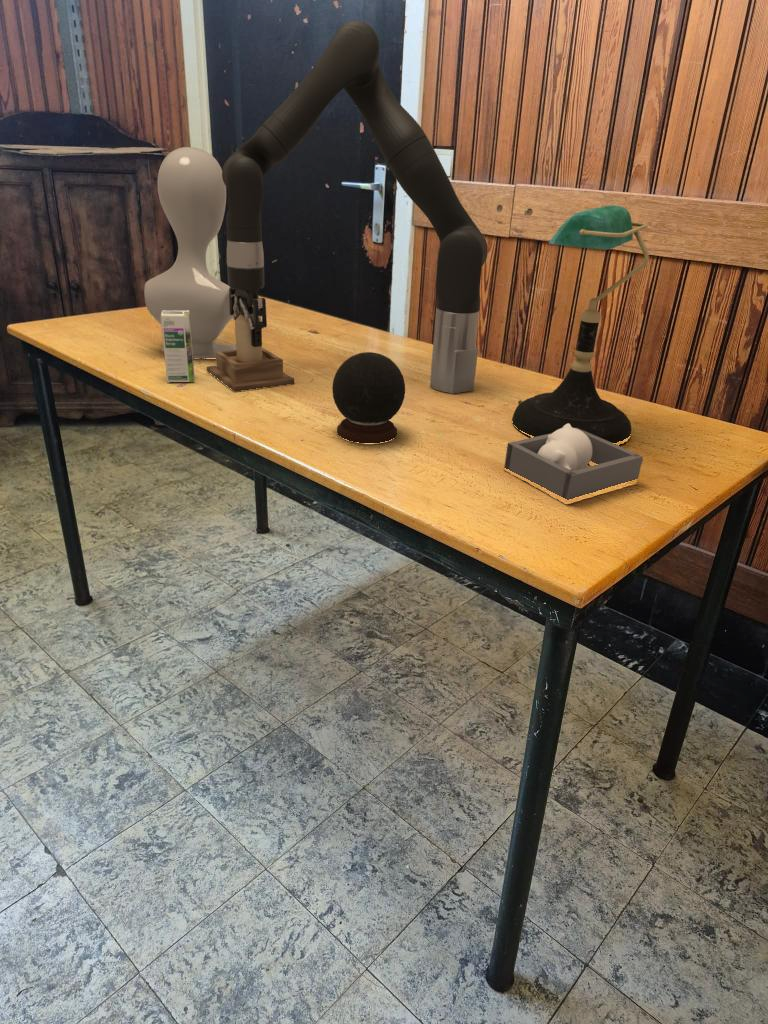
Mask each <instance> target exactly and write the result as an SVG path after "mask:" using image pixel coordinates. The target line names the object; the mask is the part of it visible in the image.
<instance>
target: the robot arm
mask: <svg viewBox="0 0 768 1024" xmlns="http://www.w3.org/2000/svg"><path fill="white" fill-rule="evenodd" d="M379 59H380V41H379V38H378V35H377V33H376V31H375V30H374V28H373V27H372V25H370V24H369V23H367V22H365V21H362V20H351V21H347V22H345V23H344V24H342V25H341V26H340V27H339V28H337V30H336V32H335V34H334V35H333V37H332V39H331V40H330V42H329V43H328V45H327V46H326V48H325V50H324V51H323V53H322V55H320V57H319V59H318V60H317V61H316V62H315V64H314V65H313V67H312V68H311V70H310V71H309V72H308V73H307V74H306V76H305V77H304V78H303V79H302V80H301V81H300V83H299V85H298V86H296V88H295V89H294V90H293V91H292V92H291V93H290V94H289V95H288V97H286V98H285V100H284V101H283V102H282V103H281V104H280V105H278V107H277V108H276V110H275V111H274V112H272V114H271V115H270V116H268V118H267V119H266V120H265V121H264V123H262V124H261V126H260V127H259V128H258V130H256V132H255V133H254V134H253V135H252V137H250V138H249V139H248V140H247V141H245V143H243V144H242V145H241V146H240V147H239V148H238V149H237V150H236V151H235V152H234V153H233V154H231V155H230V156H229V157H228V159H226V161H225V162H224V165H223V166H222V168H221V169H222V178H223V182H224V184H225V186H226V189H227V200H228V204H227V205H228V210H227V214H226V219H225V220H226V267H227V285H228V286H229V287H230V288H229V305H230V315H233V318H232V320H233V321H235V320H236V319H237V318H238V317H239V315H240V314H243V315H245V318H246V319H247V320H248V321H249V324H250V327H251V345H252V346H253V347H260V346H262V347H263V334H262V331H263V330H262V329H265V328H267V327H268V323H267V322H268V321H267V304H266V303H267V302H266V298H265V297H259V292H258V291H259V290H261V289H263V288H264V287H265V257H264V254H265V253H264V248H263V247H264V246H263V231H262V230H263V229H262V228H263V227H262V225H263V224H262V210H263V209H262V207H263V199H264V198H263V196H264V178H263V177H265V175H267V173H268V172H269V171H270V170H271V169H273V167H274V166H276V165H279V164H280V163H282V162H283V161H284V160H285V159H286V158H287V157H288V156H289V155H290V154H291V153H292V152H293V151H294V150H295V149H296V148H297V146H299V144H301V142H302V141H304V139H305V137H306V136H307V135H308V134H309V132H310V131H311V129H312V128H313V127H314V125H316V122H317V121H318V120H319V118H320V116H321V115H322V114H323V112H324V111H325V109H326V108H327V106H329V104H330V103H331V102H332V100H334V98H336V96H337V95H338V94H339V93H340V92H341V91H342V90H344V91H345V92H346V93H347V95H348V96H349V98H350V99H351V101H352V102H353V104H354V105H355V107H356V108H357V109H358V111H359V113H360V114H361V115H362V117H363V119H364V120H365V122H366V124H367V126H368V129H369V130H370V133H371V134H372V136H373V139H374V141H375V143H376V145H377V147H378V148H379V150H380V153H382V156H383V158H384V160H385V162H386V164H387V166H388V167H389V169H390V170H391V171H390V172H392V174H393V176H394V178H395V179H396V181H397V183H398V184H399V186H400V187H401V188H402V190H403V192H404V193H405V194H406V195H407V196H408V197H409V198H410V199H411V201H412V202H413V203H414V204H415V205H416V206H417V207H418V209H420V211H421V212H422V213H423V214H424V215H425V216H426V218H427V219H428V221H429V222H430V224H431V226H432V227H433V229H434V231H435V234H436V235H437V237H438V239H439V241H440V245H439V248H438V254H437V262H436V263H437V264H436V279H435V296H436V309H435V321H434V332H433V333H434V334H433V343H432V355H431V356H432V357H431V367H430V370H431V371H430V379H429V380H430V382H429V387H431V388H432V389H434V390H436V391H440V392H444V393H449V394H452V395H453V394H460V393H466V392H472V391H471V390H473V391H474V387H475V379H476V370H477V360H478V351H479V349H478V348H477V347H476V345H477V344H476V343H477V334H478V324H479V318H480V317H479V316H480V307H481V293H480V292H481V291H480V288H481V277H482V268H483V266H484V264H485V262H486V261H487V258H488V254H489V248H488V247H489V246H488V242H487V239H486V238H485V236H484V234H483V233H482V232H481V230H480V229H479V227H478V226H477V225H476V224H475V222H474V221H473V219H472V218H471V216H470V215H469V213H468V212H467V210H466V209H465V207H464V206H463V204H462V203H461V201H460V199H459V198H458V196H457V194H456V192H455V189H454V186H453V185H452V182H451V181H450V178H449V176H448V174H447V172H446V170H445V168H444V167H443V164H442V162H441V161H440V158H439V157H438V154H437V152H436V151H435V148H434V147H433V145H432V144H431V141H430V139H429V138H428V137H427V135H426V133H425V132H424V130H423V128H422V127H421V125H420V124H419V123H418V122H417V120H416V119H415V118H414V117H413V116H412V115H411V114H410V112H408V111H407V110H406V109H405V108H404V107H403V106H402V105H401V104H400V102H399V101H398V100H397V98H396V97H395V96H394V94H393V92H392V90H391V88H390V87H389V84H388V83H387V80H386V78H385V77H384V74H383V71H382V69H381V67H380V64H379ZM253 321H254V322H253ZM234 333H235V335H236V331H235V332H234Z"/></svg>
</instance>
